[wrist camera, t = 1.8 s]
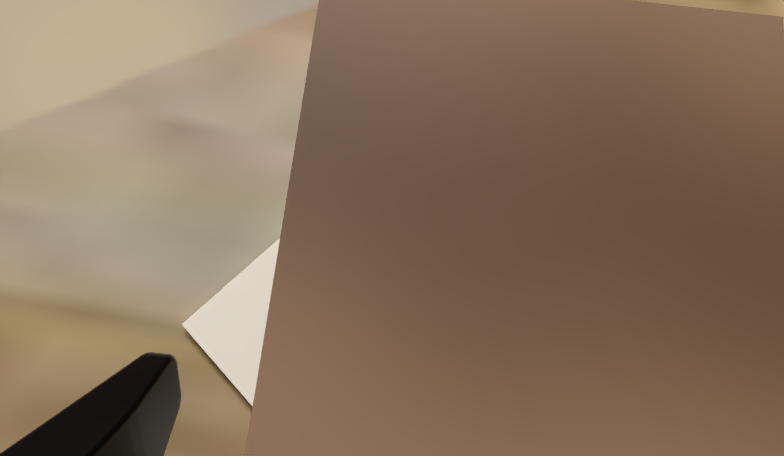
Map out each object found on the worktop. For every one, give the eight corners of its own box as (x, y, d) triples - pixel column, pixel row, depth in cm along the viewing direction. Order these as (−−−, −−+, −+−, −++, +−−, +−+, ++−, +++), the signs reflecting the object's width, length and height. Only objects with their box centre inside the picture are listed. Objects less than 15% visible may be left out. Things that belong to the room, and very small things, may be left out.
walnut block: (504, 422, 18) (823, 521, 5) (340, 404, 18) (244, 455, 5) (513, 261, 19) (783, 16, 6) (360, 244, 19) (324, -33, 6)
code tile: (671, 336, 19) (675, 335, 18) (428, 607, 16) (429, 611, 16) (430, 108, 21) (430, 104, 20) (184, 325, 18) (181, 324, 18)
